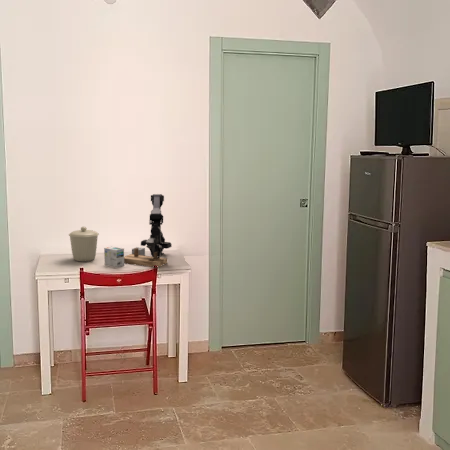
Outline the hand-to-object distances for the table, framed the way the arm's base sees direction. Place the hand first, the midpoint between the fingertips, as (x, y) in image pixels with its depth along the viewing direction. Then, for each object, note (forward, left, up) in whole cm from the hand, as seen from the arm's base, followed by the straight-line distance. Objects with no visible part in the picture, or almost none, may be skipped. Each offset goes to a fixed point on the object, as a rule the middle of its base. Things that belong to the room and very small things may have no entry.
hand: (156, 257), depth 364 cm
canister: (+13, -44, -4) cm, 46 cm away
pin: (0, 0, -4) cm, 4 cm away
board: (+3, -7, -4) cm, 8 cm away
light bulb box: (+16, -20, -4) cm, 26 cm away
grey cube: (-7, -17, -4) cm, 19 cm away
